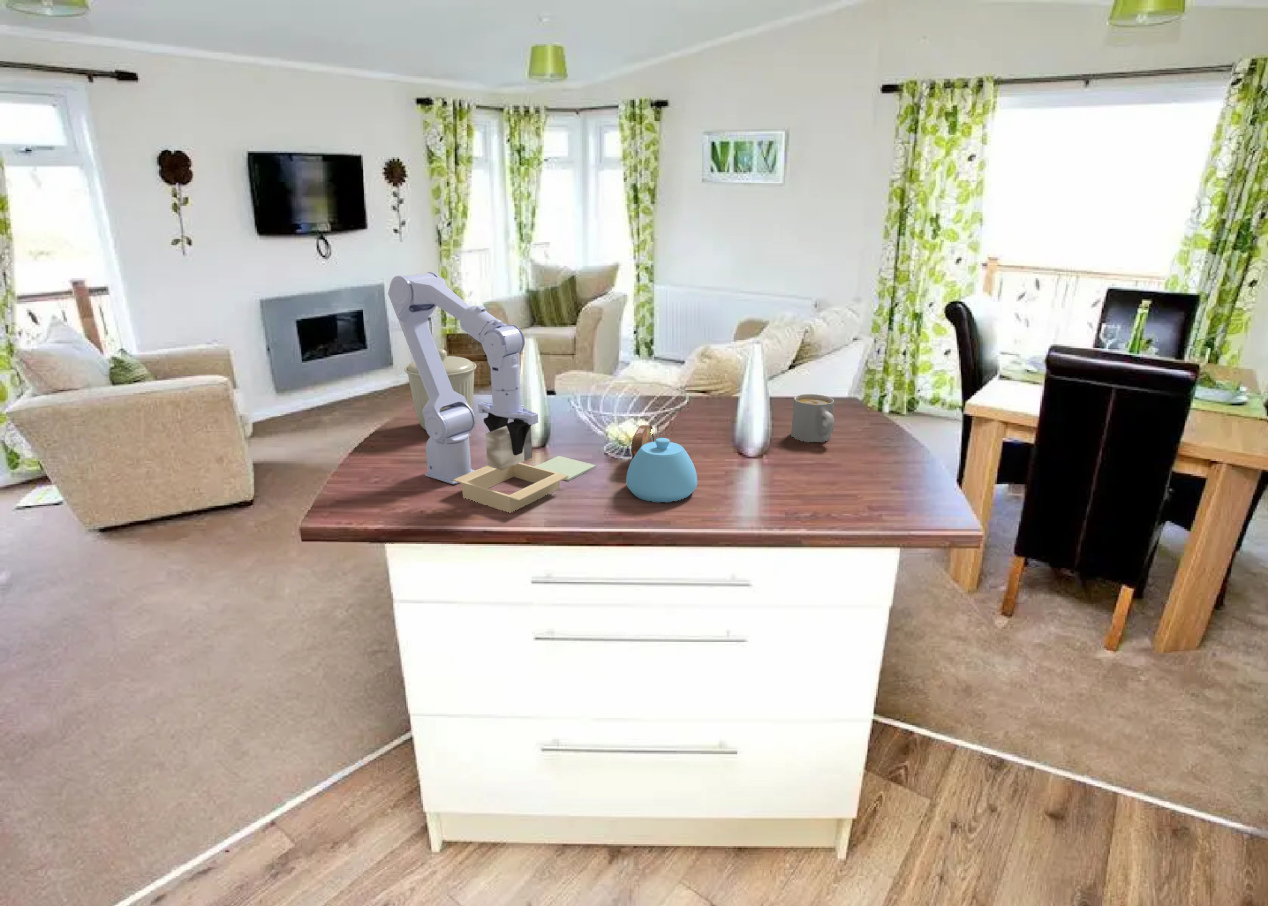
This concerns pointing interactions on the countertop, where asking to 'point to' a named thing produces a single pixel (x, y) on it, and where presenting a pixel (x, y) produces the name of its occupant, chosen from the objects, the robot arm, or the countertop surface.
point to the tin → (641, 438)
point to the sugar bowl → (661, 472)
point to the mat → (566, 467)
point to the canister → (459, 378)
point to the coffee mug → (812, 418)
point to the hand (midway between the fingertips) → (509, 451)
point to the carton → (487, 477)
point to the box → (505, 449)
